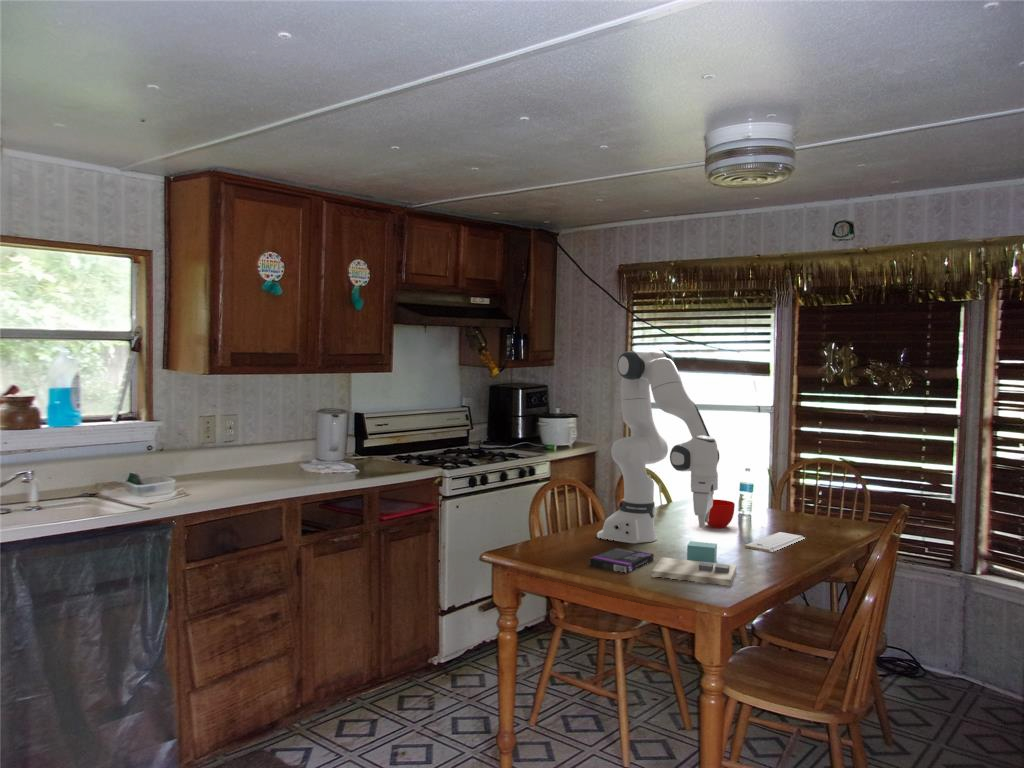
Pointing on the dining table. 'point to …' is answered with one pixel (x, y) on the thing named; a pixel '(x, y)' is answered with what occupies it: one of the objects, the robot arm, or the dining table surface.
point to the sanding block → (702, 552)
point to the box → (621, 559)
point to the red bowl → (721, 513)
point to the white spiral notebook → (774, 542)
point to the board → (692, 571)
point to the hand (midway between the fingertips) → (703, 524)
